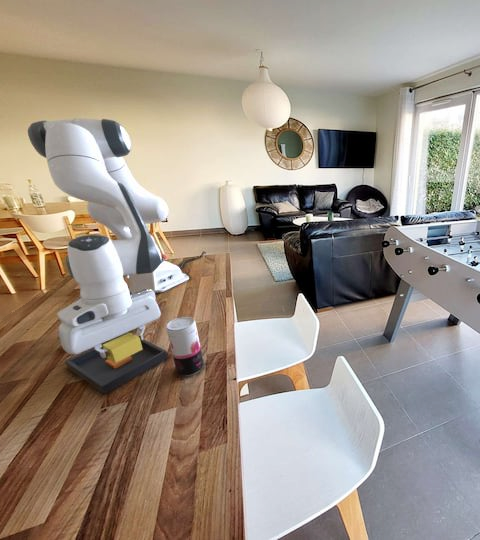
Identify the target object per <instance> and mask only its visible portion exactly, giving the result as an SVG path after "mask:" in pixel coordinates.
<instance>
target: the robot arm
mask: <svg viewBox="0 0 480 540" xmlns="http://www.w3.org/2000/svg"><path fill="white" fill-rule="evenodd" d="M27 135H28V140H29V142H30V143H31V145H32V146H33V148H34V150H35V151H36V152H37V153H38V154H39V155H40V156H41V157H43V158H45V159H46V163H47V166H48V171H49V174H50V176H51V179H52V181H53V184H54V185H55V186H56V187H57V189H59V190H60V191H61V192H63V193H64V194H65V195H68V196H70V197H72V198H75V199H77V200H80V201H84V202H87V204H86V210H87V213H88V215H89V217H90V218H91V219H92V220H93V221H95V222H97V223H98V224H100V225H102V226H104V227H105V228H107V229H108V230H110V232H111V233H112V234H113V235H114V236H115V237H116V240H111V238H109V236H106V235H102V234H86V235H81V236H78V237H75V238H73V239H71V240H69V241H68V242H67V246H66V249H67V254H66V256H65V264H66V267H67V270H68V273H69V276H70V278H72V279H73V280H74V281H75V282H76V284H77V285H78V287H79V296H80V298H79V299H77V300H76V301H74V302H73V303H71V304H69V305H68V306H66V307H64V308H62V309H61V310H59V311H58V312H57V314H56V316H57V318H58V320H59V321H60V322H61V323H60V324H59V326H58V337H59V341H60V344H61V347H62V350H63V351H64V352H66V353H68V354H69V355H73V356H78V355H80V354H82V353H84V352H87V351H89V350H91V349H95V350H96V351H98V352H99V353H100V356H101V357H102V358H106V357H108V356H110V355H111V354H110V352H109V350H108V349H106V348H104V349H100V348H101V347H102V343H104V342H106V341H109V340H111V339H113V338H115V337H118V336H120V335H122V334H124V333H127V332H128V333H129V332H131V331H133V330H135V329H136V332H135V334H134V335H136V336H138V337H139V338H140V341H141V340H143V339H144V340H145V338H144V336H143V335H144V333H145V330H146V325H147V324H149V323H152V322H154V321H156V320H158V319H160V317H161V315H162V313H161V309H160V307H159V305H158V302H157V301H156V299H157V297H156V296H157V295H156V293H164V292H167V291H169V290H170V289H172V288H173V287H177V286H178V285H180V284H182V283H186V282H187V281H189V280H190V277H189V275H188V274H186V273H184V272H182V270H181V269H182V268H183V267H184V264H185V263H187V262H191V261H193V260H197V259H200V258H201V257H199V256H202V257H204V255H205V254H207V252H206V251H202V252H201V254H200V255H198V256H196V257H197V258H195V257H192V258H193V259H191V258H188V259H189V260H187V259H185V260H183V261H182V262H181V264H180V266H178V265H176V264H175V263H172V262H169V261H167V260H168V258H169V255H168V254H165V253H161V250H160V248H159V246H158V245H157V243H156V241H155V238H154V237H153V235H151V234H150V232H149V230H148V228H147V226H146V224H148V225H149V224H156V223H157V224H158V223H161V222H165V220H167V218H168V216H169V206H168V203H167V202H166V201H165V200H164V199H163V198H162V197H160V196H157V195H155V194H153V193H151V192H149V191H148V190H146V188H144V187H143V186H142V185H140V183H138V181H136V179H135V178H134V176H133V174H132V172H131V170H130V168H129V167H128V164H127V163H126V161H125V159H124V157H126V156H127V155H129V154H130V153H131V151H132V149H131V148H132V147H131V145H132V142H131V138H130V136H129V133H128V132H127V131H126V129H125V128H124V126H122V124H120V123H119V122H117V121H116V120H113V119H107V118H102V119H96V118H72V119H71V118H70V119H57V120H49V121H47V120H39V121H35V122H32V123H31V124H30V125H29V126H28V128H27ZM124 276H125V277H126V276H127V278H128V281H129V282H128V284H127V282H126V281H125V279H124Z"/></svg>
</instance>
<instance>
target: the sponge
mask: <svg viewBox="0 0 480 540" xmlns="http://www.w3.org/2000/svg"><path fill="white" fill-rule="evenodd" d="M101 345H102V344H101ZM102 346H103V349H104V348H106V349H108V350H109V352H110V354H111V355H110V356H108V357H107V358H108V359H110V360H112V361H113V362H115V363H117V362H119V361H121V360H123V359H125V358H127V357H129V356H131V355H133V354H135V353H137V352H139V351H141V350H143V349H142V345H141V342H140V338H139V337H138V336H136V335H135V334H134V333H132V332H130V333H129V332H128V334H125V335H123V336H121V337H119V338H116V339H114V340H112V341H110V342H107V343H105V344H103V345H102Z"/></svg>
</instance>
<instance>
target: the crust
mask: <svg viewBox="0 0 480 540" xmlns="http://www.w3.org/2000/svg"><path fill="white" fill-rule="evenodd" d="M131 360H132V357H131V356H129V357H127V358H125V359H123V360H121V361H119V362H117V363H115V362H113V361H112V360H110V359H108V360H106V361H105V362H106V364H107V365H109V366H111V367H112V368H114V369H115V368H117V367H119V366H121V365H123V364H125V363H127V362H129V361H131Z"/></svg>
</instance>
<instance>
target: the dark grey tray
mask: <svg viewBox="0 0 480 540" xmlns="http://www.w3.org/2000/svg"><path fill="white" fill-rule="evenodd" d="M128 333H131V331H129V332H128ZM128 333H127V334H128ZM124 335H125V334H124ZM122 336H123V335H122ZM120 337H121V336H120ZM118 338H119V337H118ZM115 339H116V338H115ZM113 340H114V339H113ZM111 341H112V340H111ZM109 342H110V341H109ZM140 342H141V345H142V349H143V350H141V351H139V352H137V353H135V354H133V355H131V357H132V360H131V361H129V362H127V363H125V364H123V365H121V366H119V367H117V368H115V369H114V368H112V367H111V366H109V365H107V364H106V362H105V361H106V360H108V358H107V357H106V358H102V357H101V356H100V353H99V352H98V351H96V350H95V349H93V348H90V349H88V350H86V351H84V352H81V353H79V354H77V355H74V356H73V357H71V358H69V359H65V361H64V363H65V365H66V367H67V369H68V370H69V371H71V372H72V373H74V375H77V376H78V377H79V378H81V379H82V380H83V381H85V382H86V383H88V384H89V385H91V386H92V387H94V388H95V389H96V390H98V391H100V392H101V393H102V394H104V395H106V394H107V393H110V392H112V391H114V390H115V389H117V388H119V387H120V386H122V385H123V384H125V383H127V382H129V381H131V380H132V379H134V378H136V377H138V376H140V375H141V374H142V373H144V372H147V371H148V370H150V369H151V368H153V367H155V366H157V365H159V364H160V363H162V362H164V361H165V360H168V359H169V356H168V352H167V350H165V349H164V348H162V347H159V346H157V345H155V344H153V343H151V342H149V341H148V340H146V339H145V338H144V339H143V340H141V341H140ZM104 344H105V343H104ZM101 345H103V344H101ZM100 349H103V346H102V347H101V348H100Z"/></svg>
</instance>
